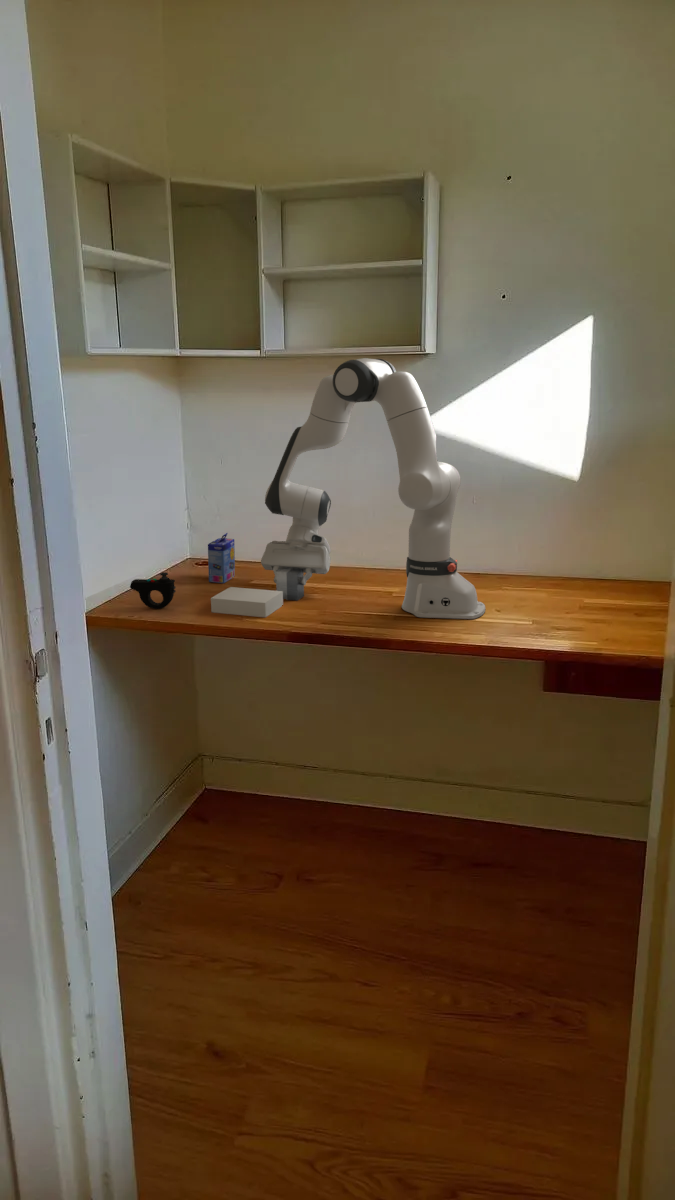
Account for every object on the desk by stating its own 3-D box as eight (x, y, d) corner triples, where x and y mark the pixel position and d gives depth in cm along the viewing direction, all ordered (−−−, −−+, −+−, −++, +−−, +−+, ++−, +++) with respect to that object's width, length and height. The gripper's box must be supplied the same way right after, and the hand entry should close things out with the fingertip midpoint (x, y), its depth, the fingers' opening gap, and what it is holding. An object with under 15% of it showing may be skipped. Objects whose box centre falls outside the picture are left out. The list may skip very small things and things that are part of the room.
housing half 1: (293, 595, 245) (293, 568, 242) (287, 599, 240) (286, 572, 238) (283, 594, 246) (282, 567, 243) (276, 598, 241) (275, 571, 239)
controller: (174, 610, 231) (171, 575, 228) (130, 609, 232) (127, 574, 229) (178, 606, 235) (176, 571, 232) (135, 605, 236) (132, 570, 233)
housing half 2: (304, 596, 244) (303, 569, 241) (297, 600, 239) (297, 573, 237) (293, 595, 245) (293, 568, 242) (287, 599, 240) (286, 572, 238)
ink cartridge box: (225, 583, 258) (223, 537, 254) (208, 583, 259) (205, 536, 255) (236, 576, 267) (234, 530, 263) (220, 575, 268) (217, 530, 264)
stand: (283, 605, 235) (282, 591, 234) (265, 617, 224) (265, 602, 223) (230, 600, 240) (230, 586, 239) (211, 612, 229) (210, 598, 228)
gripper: (265, 534, 247) (252, 574, 241) (331, 538, 241) (319, 580, 235) (271, 546, 253) (259, 586, 246) (336, 550, 246) (325, 591, 240)
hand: (289, 583), depth 240 cm, fingers open, 6 cm apart
